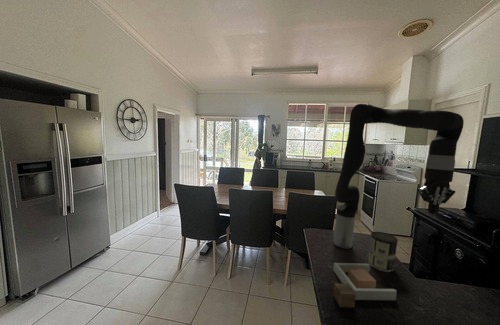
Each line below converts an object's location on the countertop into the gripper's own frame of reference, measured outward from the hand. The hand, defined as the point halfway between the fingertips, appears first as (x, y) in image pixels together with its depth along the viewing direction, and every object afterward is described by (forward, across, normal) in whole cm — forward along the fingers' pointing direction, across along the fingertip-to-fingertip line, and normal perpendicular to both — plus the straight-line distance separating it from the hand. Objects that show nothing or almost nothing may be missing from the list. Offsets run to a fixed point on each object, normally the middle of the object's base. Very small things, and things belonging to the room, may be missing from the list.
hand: (432, 213), depth 75 cm
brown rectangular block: (+31, +22, -3) cm, 38 cm away
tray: (+31, +22, -3) cm, 38 cm away
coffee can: (+31, +5, -16) cm, 36 cm away
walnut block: (+31, +34, +6) cm, 46 cm away
